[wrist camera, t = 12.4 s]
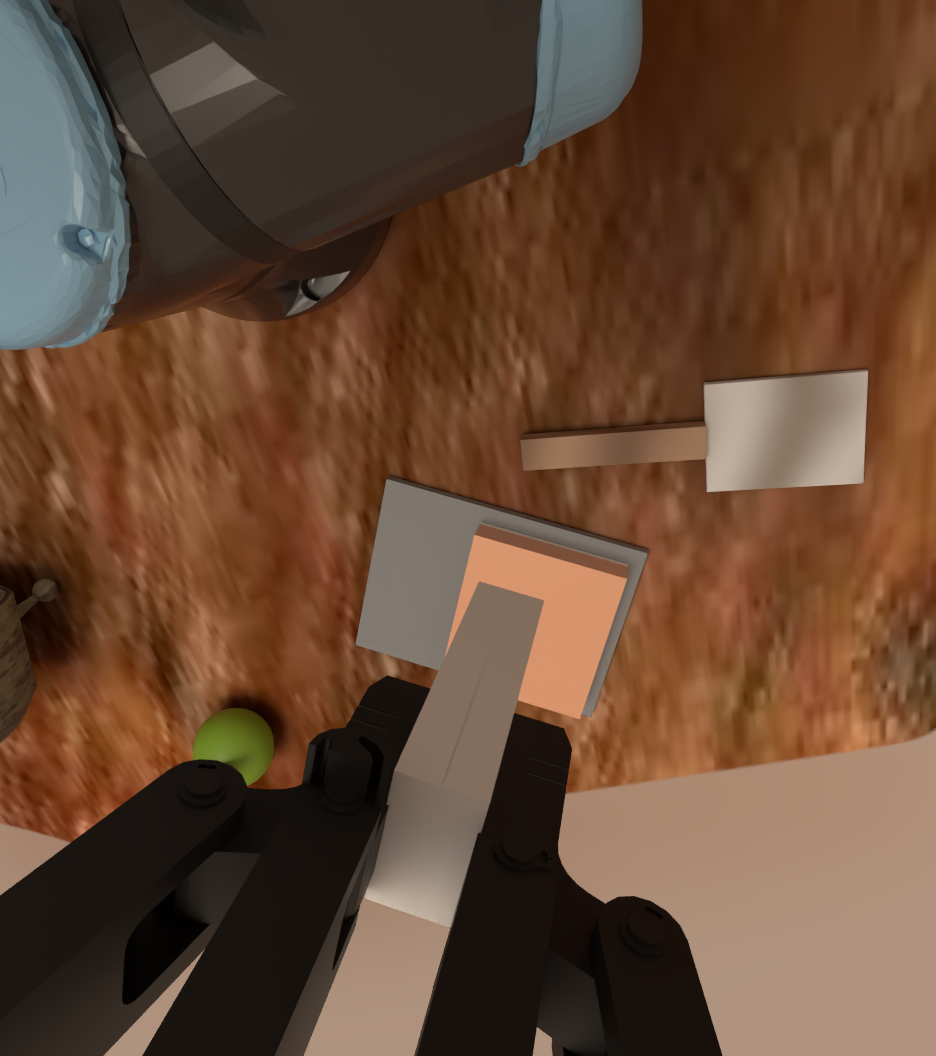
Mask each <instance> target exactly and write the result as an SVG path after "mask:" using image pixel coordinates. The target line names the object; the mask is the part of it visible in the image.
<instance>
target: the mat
mask: <svg viewBox="0 0 936 1056" xmlns="http://www.w3.org/2000/svg"><path fill="white" fill-rule="evenodd" d="M481 522H483V523H486V524H490V525H493V526H496V527H500V528H503V529H507V530H510V531H514V532H517V533H521V534H524V535H528V536H531V537H535V538H538V539H542V540H545V541H549V542H552V543H556V544H559V545H563V546H566V547H570V548H573V549H577V550H580V551H583V552H587V553H590V554H594V555H597V556H601V557H604V558H608V559H611V560H615V561H618V562H622V563H625V564H628V574H627V581H626V584H625V587H624V590H623V593H622V596H621V599H620V602H619V605H618V608H617V611H616V614H615V616H614V619H613V622H612V625H611V628H610V631H609V634H608V637H607V640H606V643H605V646H604V649H603V652H602V655H601V658H600V661H599V664H598V667H597V670H596V673H595V676H594V679H593V682H592V684H591V687H590V690H589V693H588V696H587V699H586V702H585V705H584V708H583V711H582V715H585V716H588V717H592V714H593V711H594V708H595V705H596V702H597V699H598V696H599V693H600V691H601V688H602V685H603V682H604V679H605V676H606V673H607V670H608V667H609V665H610V662H611V659H612V656H613V653H614V650H615V647H616V644H617V641H618V638H619V636H620V633H621V630H622V627H623V624H624V621H625V618H626V615H627V612H628V609H629V607H630V604H631V601H632V598H633V595H634V592H635V589H636V586H637V583H638V580H639V578H640V575H641V572H642V569H643V566H644V563H645V560H646V557H647V554H648V549H644V548H641V547H637V546H634V545H630V544H627V543H623V542H620V541H616V540H613V539H609V538H606V537H602V536H599V535H595V534H592V533H588V532H585V531H581V530H578V529H574V528H571V527H567V526H564V525H560V524H557V523H553V522H550V521H546V520H543V519H539V518H536V517H532V516H529V515H525V514H522V513H518V512H515V511H511V510H508V509H504V508H501V507H497V506H494V505H490V504H487V503H483V502H479V501H476V500H472V499H469V498H465V497H462V496H458V495H455V494H451V493H448V492H444V491H441V490H437V489H434V488H430V487H427V486H423V485H420V484H416V483H413V482H409V481H406V480H402V479H399V478H395V477H392V476H389V477H388V478H387V480H386V485H385V490H384V496H383V501H382V506H381V512H380V517H379V522H378V528H377V533H376V538H375V544H374V549H373V554H372V560H371V565H370V570H369V576H368V581H367V587H366V592H365V597H364V603H363V608H362V613H361V619H360V624H359V629H358V635H357V640H356V645H358V646H361V647H364V648H368V649H371V650H374V651H377V652H381V653H384V654H387V655H390V656H394V657H397V658H400V659H403V660H407V661H410V662H413V663H416V664H420V665H423V666H426V667H429V668H433V669H436V670H439V669H440V667H441V665H442V663H443V661H444V658H445V654H446V649H447V645H448V641H449V637H450V633H451V629H452V625H453V621H454V617H455V612H456V608H457V604H458V600H459V596H460V592H461V588H462V584H463V579H464V575H465V571H466V567H467V563H468V559H469V555H470V551H471V547H472V542H473V538H474V535H475V533H476V531H477V529H478V527H479V525H480V523H481Z"/></svg>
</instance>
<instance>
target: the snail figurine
mask: <svg viewBox="0 0 936 1056" xmlns="http://www.w3.org/2000/svg"><path fill="white" fill-rule="evenodd" d="M273 754H274V738H273V734H272V731H271V729H270V727H269V725H268V724H267V722H266V721H265V720H264V719H263V718H262V717H261V716H260V715H258V714H257V713H255V712H253V711H251V710H248V709H243V708H229V709H225V710H222V711H219V712H217V713H215V714H214V715H212V716H211V717H210V718H208V719H207V720H206V721H205V722H204V723H203V724H202V726H201V727H200V729H199V730H198V732H197V734H196V737H195V740H194V744H193V759H194V760H198V759H206V760H218V761H220V762H223V763H226V764H228V765H231V766H233V767H234V768H235V769H236V770H237V771H239V772H240V773H241V774H242V775H243V778H244V780H245V782H246V785H250V784H252V783H253V782H255V781H256V780H258V779H259V778H260V777H261V776H262V775H263V774H264V773H265V771H266V770H267V768H268V767H269V765H270V763H271V761H272V758H273Z"/></svg>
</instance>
